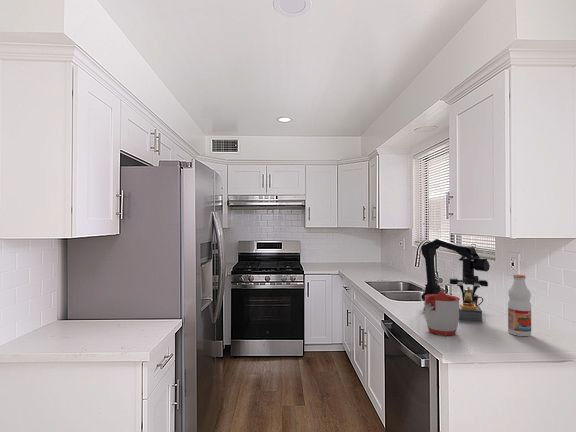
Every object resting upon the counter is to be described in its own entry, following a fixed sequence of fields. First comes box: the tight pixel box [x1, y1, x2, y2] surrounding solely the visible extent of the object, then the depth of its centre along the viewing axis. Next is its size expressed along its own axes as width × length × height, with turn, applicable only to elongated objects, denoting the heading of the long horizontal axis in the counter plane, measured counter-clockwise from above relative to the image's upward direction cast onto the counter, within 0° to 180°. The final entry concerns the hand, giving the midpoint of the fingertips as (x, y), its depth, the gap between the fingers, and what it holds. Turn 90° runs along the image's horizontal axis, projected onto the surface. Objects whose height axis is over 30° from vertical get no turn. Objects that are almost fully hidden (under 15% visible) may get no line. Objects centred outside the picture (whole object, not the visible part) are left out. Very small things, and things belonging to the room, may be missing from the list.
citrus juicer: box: [423, 290, 460, 337], centre depth 177 cm, size 16×17×20 cm
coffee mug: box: [461, 293, 484, 307], centre depth 219 cm, size 12×9×10 cm
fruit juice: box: [507, 274, 532, 337], centre depth 176 cm, size 9×9×28 cm
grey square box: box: [459, 302, 483, 323], centre depth 203 cm, size 12×12×8 cm
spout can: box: [463, 286, 473, 301], centre depth 204 cm, size 4×4×8 cm
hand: (468, 297), depth 204 cm, fingers closed on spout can, 4 cm apart
